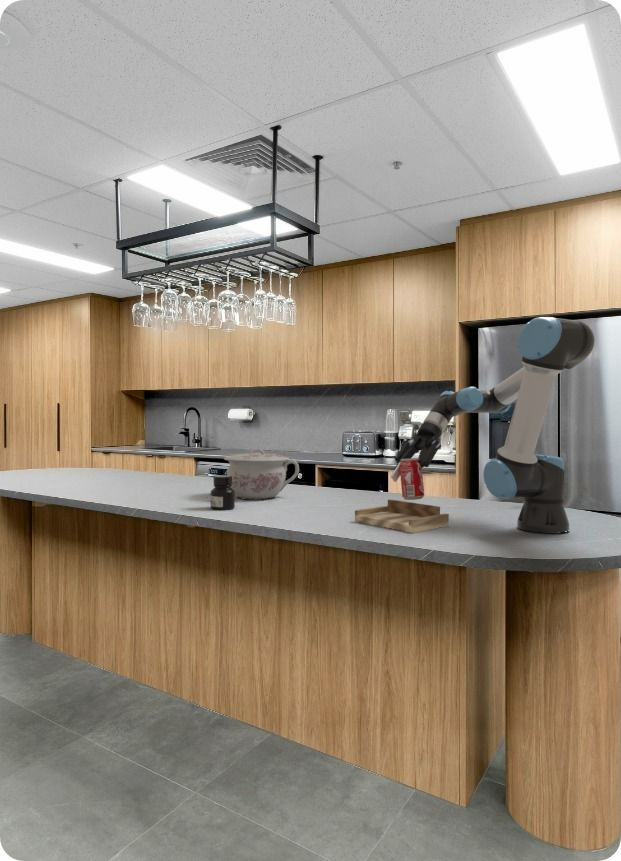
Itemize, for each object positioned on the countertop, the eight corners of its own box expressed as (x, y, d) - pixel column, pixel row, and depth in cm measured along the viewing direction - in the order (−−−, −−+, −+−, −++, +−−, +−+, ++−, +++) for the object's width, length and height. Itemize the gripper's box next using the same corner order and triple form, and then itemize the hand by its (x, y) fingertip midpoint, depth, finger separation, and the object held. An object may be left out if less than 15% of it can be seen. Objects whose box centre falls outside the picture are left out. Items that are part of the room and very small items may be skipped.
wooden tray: (448, 525, 190) (448, 506, 189) (412, 533, 178) (413, 512, 177) (390, 515, 208) (391, 498, 207) (354, 521, 196) (355, 502, 195)
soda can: (424, 499, 190) (421, 458, 190) (401, 500, 191) (398, 460, 191) (424, 496, 197) (421, 457, 197) (402, 497, 198) (399, 458, 198)
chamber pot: (209, 498, 246) (209, 448, 246) (252, 491, 269) (253, 445, 268) (262, 504, 230) (262, 451, 230) (303, 497, 253) (303, 448, 252)
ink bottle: (206, 507, 223) (206, 475, 222) (228, 505, 227) (229, 474, 227) (216, 511, 214) (216, 478, 214) (238, 509, 218) (239, 477, 218)
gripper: (459, 437, 198) (428, 490, 187) (415, 435, 211) (384, 484, 201) (450, 421, 194) (418, 475, 183) (406, 420, 207) (373, 470, 197)
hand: (400, 480), depth 192 cm, fingers open, 5 cm apart
